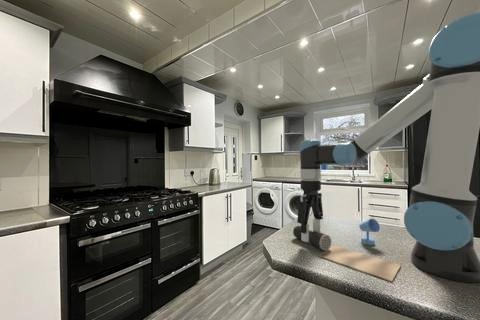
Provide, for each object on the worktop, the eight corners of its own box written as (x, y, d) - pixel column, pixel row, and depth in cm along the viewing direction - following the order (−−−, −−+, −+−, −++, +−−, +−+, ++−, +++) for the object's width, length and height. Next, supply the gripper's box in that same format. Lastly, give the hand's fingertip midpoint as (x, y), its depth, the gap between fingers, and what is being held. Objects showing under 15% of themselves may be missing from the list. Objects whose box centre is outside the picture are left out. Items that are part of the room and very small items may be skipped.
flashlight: (291, 238, 85) (291, 225, 85) (301, 236, 87) (301, 223, 87) (320, 251, 71) (320, 236, 71) (331, 248, 73) (331, 233, 73)
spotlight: (382, 246, 76) (366, 239, 83) (381, 219, 76) (366, 215, 83) (371, 247, 75) (356, 240, 82) (370, 220, 75) (356, 215, 82)
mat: (400, 266, 61) (400, 265, 61) (391, 282, 53) (391, 280, 53) (333, 246, 76) (333, 245, 76) (318, 256, 68) (318, 255, 68)
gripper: (314, 177, 89) (315, 229, 88) (286, 181, 75) (287, 242, 74) (331, 178, 83) (332, 234, 83) (305, 182, 69) (305, 249, 69)
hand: (311, 238), depth 79 cm, fingers open, 8 cm apart
